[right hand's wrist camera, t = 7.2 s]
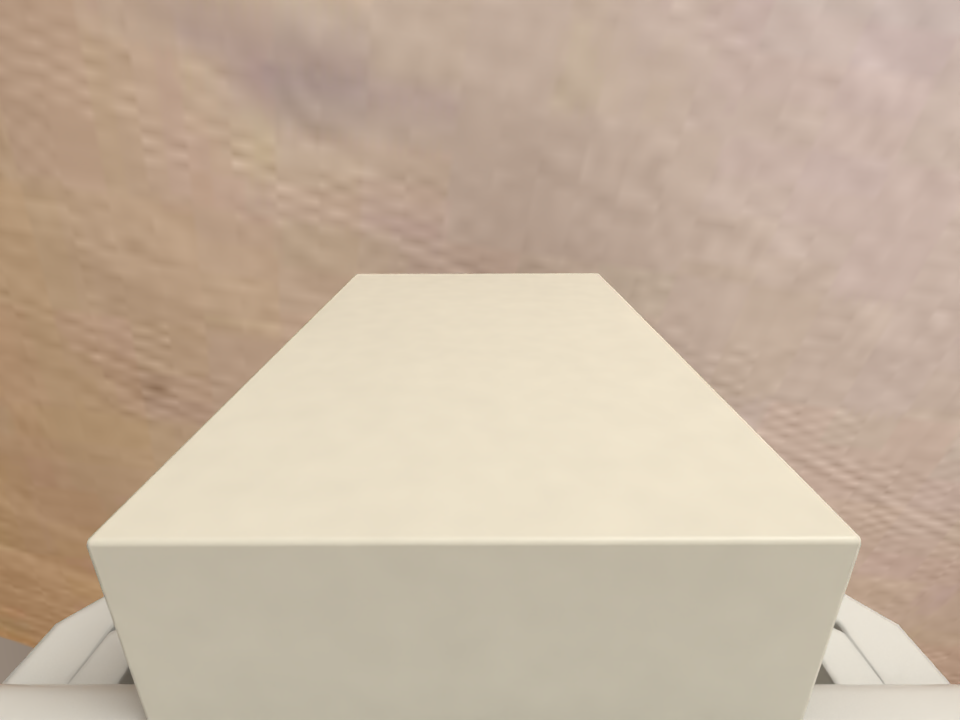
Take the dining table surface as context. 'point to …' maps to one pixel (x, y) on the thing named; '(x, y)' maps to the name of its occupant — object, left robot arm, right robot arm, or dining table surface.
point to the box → (475, 526)
